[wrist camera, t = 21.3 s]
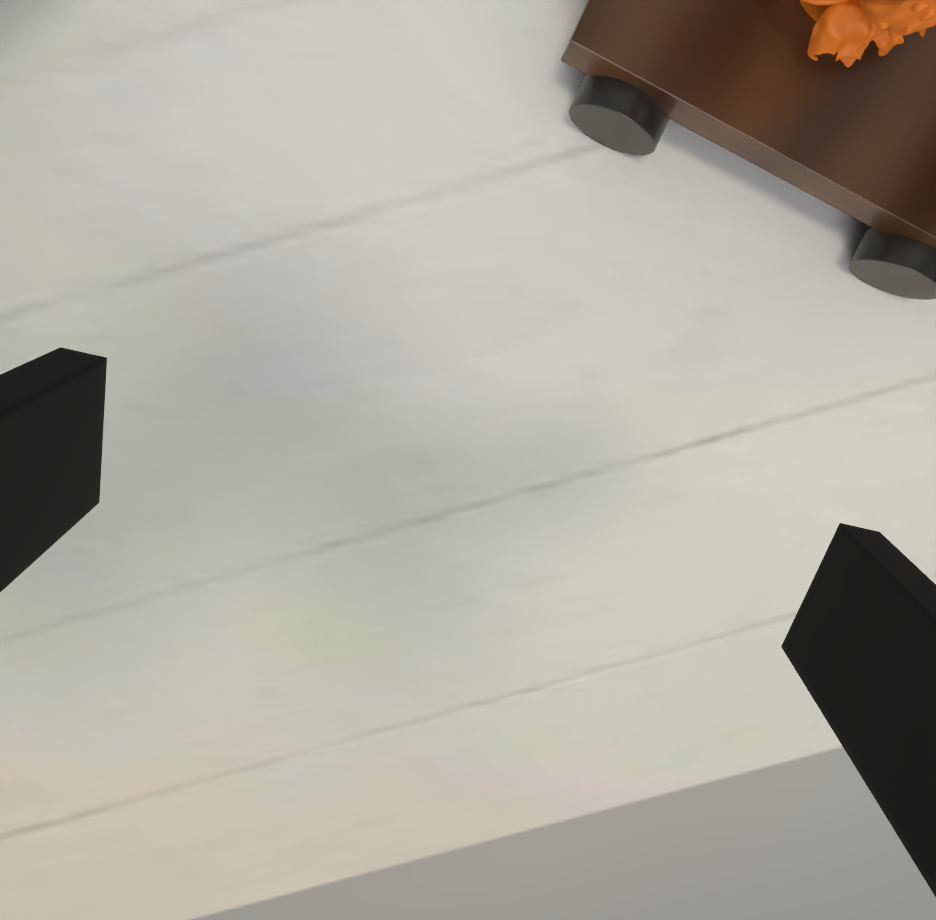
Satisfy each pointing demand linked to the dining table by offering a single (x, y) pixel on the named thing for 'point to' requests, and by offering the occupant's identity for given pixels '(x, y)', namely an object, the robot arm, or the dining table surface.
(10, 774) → the dining table surface
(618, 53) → the toy car
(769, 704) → the dining table surface
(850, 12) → the orange creature figurine
